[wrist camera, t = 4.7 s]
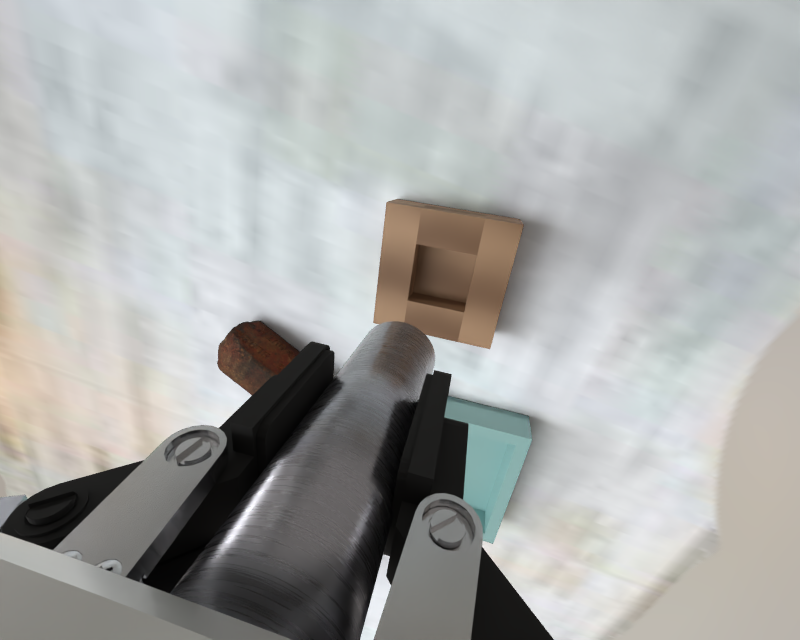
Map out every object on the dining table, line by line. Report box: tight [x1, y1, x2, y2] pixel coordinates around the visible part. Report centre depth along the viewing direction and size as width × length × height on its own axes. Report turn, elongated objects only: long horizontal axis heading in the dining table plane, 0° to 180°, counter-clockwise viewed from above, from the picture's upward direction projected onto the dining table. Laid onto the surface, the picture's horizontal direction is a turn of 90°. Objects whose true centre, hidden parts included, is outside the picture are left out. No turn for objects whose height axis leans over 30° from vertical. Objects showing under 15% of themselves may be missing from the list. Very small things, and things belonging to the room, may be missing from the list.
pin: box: [170, 321, 435, 640], centre depth 10 cm, size 3×3×10 cm
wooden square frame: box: [373, 199, 524, 349], centre depth 26 cm, size 9×9×3 cm
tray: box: [444, 396, 532, 544], centre depth 33 cm, size 13×13×3 cm
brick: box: [217, 321, 300, 395], centre depth 33 cm, size 11×4×5 cm, turn 53°
